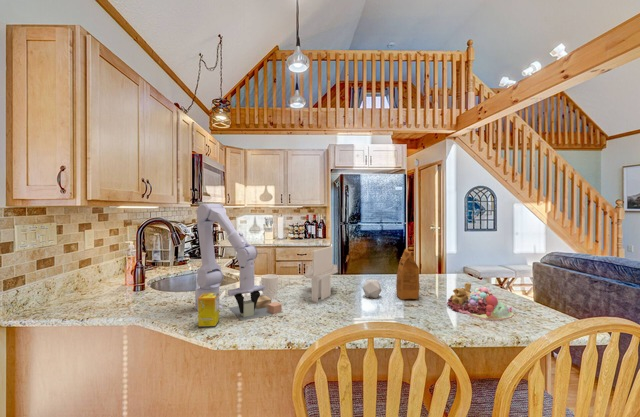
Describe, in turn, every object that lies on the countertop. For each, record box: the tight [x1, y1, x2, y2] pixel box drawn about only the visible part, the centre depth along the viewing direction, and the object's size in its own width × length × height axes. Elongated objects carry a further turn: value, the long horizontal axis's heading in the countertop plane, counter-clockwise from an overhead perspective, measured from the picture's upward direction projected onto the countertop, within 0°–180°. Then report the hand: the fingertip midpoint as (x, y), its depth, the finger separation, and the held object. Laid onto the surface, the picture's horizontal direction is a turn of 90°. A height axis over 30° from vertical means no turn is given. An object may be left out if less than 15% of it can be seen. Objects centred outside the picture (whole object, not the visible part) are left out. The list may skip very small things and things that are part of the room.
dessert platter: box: [446, 282, 514, 322], centre depth 131 cm, size 25×24×9 cm
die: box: [361, 279, 382, 299], centre depth 147 cm, size 8×9×10 cm
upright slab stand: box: [304, 243, 339, 303], centre depth 150 cm, size 28×21×23 cm
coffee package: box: [395, 248, 421, 301], centre depth 147 cm, size 10×12×22 cm
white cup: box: [260, 273, 279, 300], centre depth 146 cm, size 8×8×10 cm
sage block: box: [241, 299, 254, 317], centre depth 123 cm, size 4×4×5 cm
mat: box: [228, 305, 283, 322], centre depth 128 cm, size 17×17×1 cm
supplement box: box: [197, 292, 220, 329], centre depth 113 cm, size 6×6×11 cm
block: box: [267, 301, 282, 315], centre depth 126 cm, size 4×4×3 cm
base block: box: [255, 295, 272, 309], centre depth 134 cm, size 6×6×3 cm
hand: (247, 311), depth 123 cm, fingers closed on sage block, 4 cm apart
